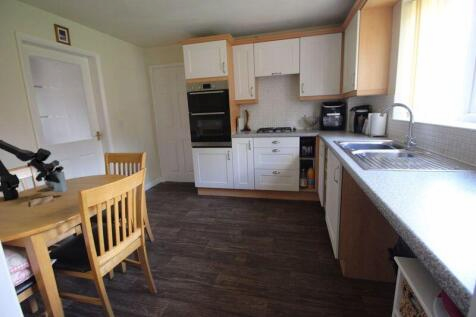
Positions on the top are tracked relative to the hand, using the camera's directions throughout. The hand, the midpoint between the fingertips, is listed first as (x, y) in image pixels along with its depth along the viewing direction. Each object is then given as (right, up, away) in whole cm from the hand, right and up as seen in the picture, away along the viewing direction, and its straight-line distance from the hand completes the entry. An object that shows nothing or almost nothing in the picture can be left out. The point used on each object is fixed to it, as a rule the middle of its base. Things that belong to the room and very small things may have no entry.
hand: (61, 181), depth 151 cm
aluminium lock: (-1, -7, +1) cm, 7 cm away
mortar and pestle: (-17, -7, +17) cm, 25 cm away
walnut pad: (-7, -12, -7) cm, 15 cm away
